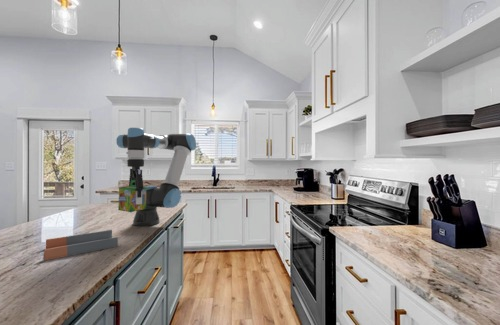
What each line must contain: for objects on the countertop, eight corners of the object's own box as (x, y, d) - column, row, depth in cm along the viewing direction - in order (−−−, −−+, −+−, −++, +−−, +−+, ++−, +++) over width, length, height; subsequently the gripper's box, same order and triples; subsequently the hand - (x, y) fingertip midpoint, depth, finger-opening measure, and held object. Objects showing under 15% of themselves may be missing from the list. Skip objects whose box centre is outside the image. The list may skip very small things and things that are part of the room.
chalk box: (117, 210, 115) (117, 180, 115) (134, 207, 123) (134, 179, 123) (131, 212, 111) (131, 181, 111) (146, 209, 120) (147, 179, 119)
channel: (111, 237, 119) (111, 229, 119) (117, 246, 106) (117, 237, 106) (45, 248, 103) (46, 239, 103) (44, 260, 91) (44, 249, 91)
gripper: (122, 158, 125) (122, 200, 125) (133, 158, 107) (133, 206, 107) (137, 158, 130) (137, 198, 130) (150, 158, 112) (150, 205, 112)
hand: (135, 202), depth 119 cm, fingers closed on chalk box, 11 cm apart
